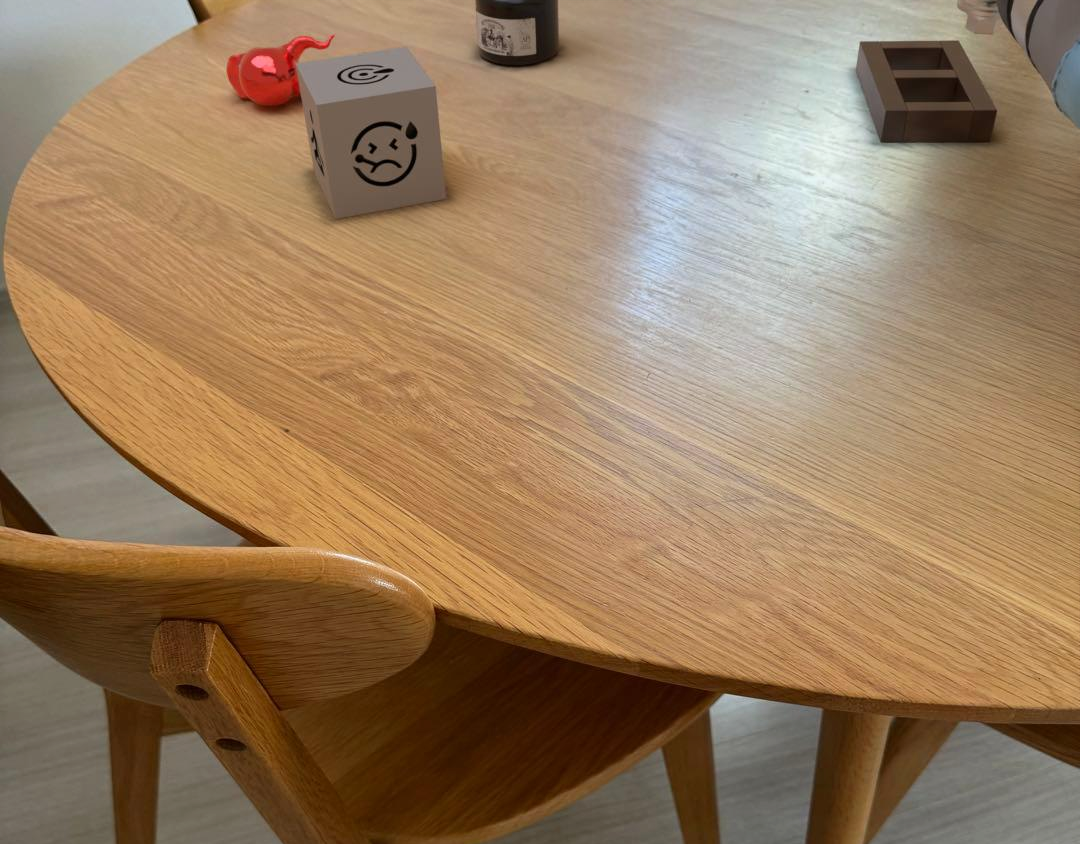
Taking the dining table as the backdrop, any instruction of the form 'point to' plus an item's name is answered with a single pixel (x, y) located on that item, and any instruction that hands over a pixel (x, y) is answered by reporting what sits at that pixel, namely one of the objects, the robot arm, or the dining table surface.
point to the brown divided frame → (924, 92)
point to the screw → (981, 16)
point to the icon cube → (372, 131)
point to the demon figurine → (270, 71)
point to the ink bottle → (517, 30)
